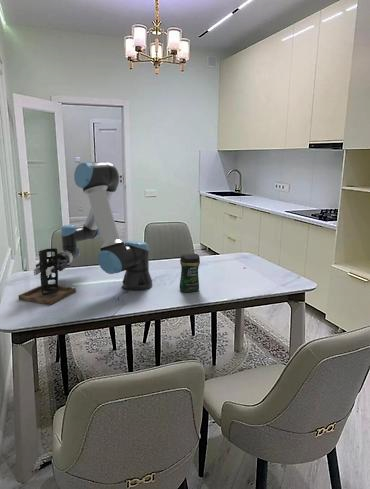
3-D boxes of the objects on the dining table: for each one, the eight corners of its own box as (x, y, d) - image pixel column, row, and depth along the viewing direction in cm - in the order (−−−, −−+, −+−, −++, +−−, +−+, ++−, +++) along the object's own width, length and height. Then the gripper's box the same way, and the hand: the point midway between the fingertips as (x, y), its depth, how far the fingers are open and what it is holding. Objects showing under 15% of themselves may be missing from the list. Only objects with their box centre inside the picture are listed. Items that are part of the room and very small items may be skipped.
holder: (50, 296, 168) (48, 253, 164) (35, 294, 170) (32, 252, 165) (62, 288, 179) (61, 248, 174) (48, 286, 180) (46, 247, 176)
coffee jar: (182, 293, 180) (182, 256, 176) (177, 288, 187) (178, 252, 183) (201, 291, 183) (202, 255, 179) (196, 286, 190) (196, 251, 186)
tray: (75, 292, 180) (75, 288, 180) (50, 305, 164) (50, 301, 163) (46, 287, 186) (45, 283, 186) (18, 299, 170) (18, 295, 170)
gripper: (80, 267, 190) (60, 281, 167) (46, 265, 191) (22, 279, 169) (79, 252, 188) (59, 265, 165) (44, 251, 190) (20, 263, 167)
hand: (40, 272), depth 167 cm, fingers closed on holder, 5 cm apart
